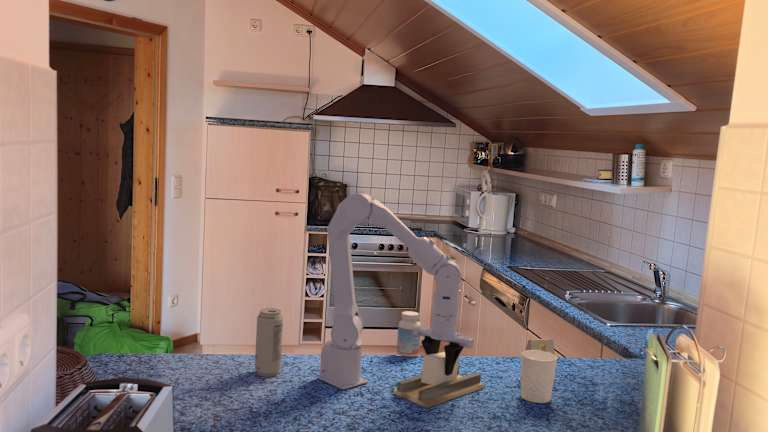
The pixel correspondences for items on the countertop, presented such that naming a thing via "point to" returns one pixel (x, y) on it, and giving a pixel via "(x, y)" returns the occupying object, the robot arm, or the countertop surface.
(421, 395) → the sliding track
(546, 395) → the white cup
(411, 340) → the pill bottle
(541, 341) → the white red printed box
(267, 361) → the energy drink can
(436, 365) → the cream rectangular block
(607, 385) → the countertop surface
